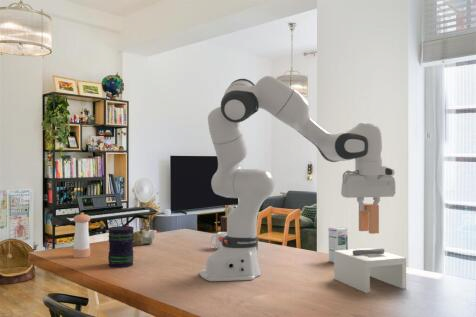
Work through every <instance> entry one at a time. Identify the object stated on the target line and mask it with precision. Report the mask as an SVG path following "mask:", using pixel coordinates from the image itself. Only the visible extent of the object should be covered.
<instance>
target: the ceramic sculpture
mask: <svg viewBox="0 0 476 317" xmlns="http://www.w3.org/2000/svg"><path fill="white" fill-rule="evenodd" d="M155 231H156V230H155V229H153V230H151V231H150V230H149V231H147V230H146V229H145V228H140V229H139V230H137V231H134V233H133V234H134V241H133V246H143V245H145V244H147V245H152V244H153V241H154V238H155Z"/></svg>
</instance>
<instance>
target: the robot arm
mask: <svg viewBox="0 0 476 317" xmlns="http://www.w3.org/2000/svg"><path fill="white" fill-rule="evenodd" d="M259 109H262V110H265V111H266V112H268V113H269V114H270V115H272V116H273V117H275V119H278V120H279V121H280V122H282V123H284V124H286V125H287V126H289V127H290V128H293V130H295V131H296V132H298V133H299V134H300V135H301V136H303V137H304V138H306V139H307V141H309V142H310V143H311V144H312V145H314V147H316V148H317V150H318V151H319V153H320V155H321V156H322V157H323V159H324V160H326V161H328V162H330V163H337V162H338V163H339V162H345V161H351V160H354V162H355V163H354V164H355V166H354V167H355V168H354V170H349V169H348V170H346V171H344V172H343V173H342V182H341V190H340V193H341V196H342V198H349V199H350V198H354V199H355V198H356V201H357V203H358V206H359V205H360V210H361V211H366V208H367V206H366V205H364V203H365V202H364V201H365V198H372V200H373V203H372V204H374V205H379V203H380V201H381V198H387V197H388V198H391V197H394V196H395V195H396V180H395V178H394V175H395V169H393V168H391V167H388V166H385V165H383V160H382V156H381V155H382V151H383V150H382V149H383V141H382V132H381V129H380V127H379V126H378V125H376V124H374V123H371V122H370V123H369V122H367V123H366V122H362V123H361V122H360V123H358V124H357V125H355V126H354V127H352V128H350V129H348V130H345V131H343V132H340V133H336V134H335V133H330V132H328V131H326V130H325V129H323V127H321V126H320V125H319V124H317V123H316V122H315V121H314V120H312V118H311V116H310V115H309V111H310V105H309V103H308V101H307V99H306V98H305V97H304V96H303V95H302V94H301V93H300V92H298V91H297V90H295V89H294V88H292V87H291V86H290V85H288V84H286V83H285V82H283V81H282V80H280V79H277V78H275V77H274V76H272V75H267V76H264V77H262V78H260V79H259V80H258V81H257V82H256V83H255V84H254V82H253V81H251V80H249V79H247V78H238V79H236V80H234V81H233V82H231V83H230V85H229V86H228V87H227V89H226V90H225V92H224V94H223V97H222V99H221V101H220V106H219V107H216V108H214V109H213V110H211V111H210V112H209V114H208V115H207V124H208V130H209V134H210V138H211V141H212V145H213V148H214V151H215V154H216V158H217V170H216V172H215V173H214V174H213V175H212V178H211V183H210V184H211V185H210V186H211V189H212V191H213V193H214V194H215V195H218V196H220V197H224V198H229V199H238V204H237V205H236V207H235V208H233V209H231V210H230V211H229V212H228V214H227V217H226V232H227V235H226V236H225V237H222V236H219V241H220V242H222V246H221V247H220V248H219V249H218V248H217V250H215V251H214V252H213V253H211V254H210V255H209V256H208V257H207V260H206V264H205V269H201V270H200V271H199V276H200V277H201V278H202V279H203V280H206V281H209V282H226V281H227V282H228V281H252V280H254V279H255V278H256V277H259V276H261V275H262V273H261V269H260V265H259V260H258V247H259V239H258V238H259V237H258V234H257V229H258V228H257V226H258V215H259V211H260V209H261V206H262V205H263V203H264V202H265V201H266V199H268V198H269V197H270V196H271V195H272V194H273V192H274V189H275V180H274V179H275V178H274V177H273V175H272V174H271V173H270V172H269V171H265V170H262V169H257V168H242V167H241V162H242V161H244V160H245V159H246V157H247V154H248V148H247V145H246V141H245V137H244V135H243V131H242V128H241V125H240V123H242V122H244V121H246V120H247V119H249V118H250V117H251V116H253V115H254V114H256V113H257V112H258V111H259Z"/></svg>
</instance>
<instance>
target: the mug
mask: <svg viewBox="0 0 476 317" xmlns="http://www.w3.org/2000/svg"><path fill="white" fill-rule="evenodd" d="M226 235H227V231H219V232H217V233H216V234H214V235H212V236H211V238H210V243H211V245H212V246H213V247H216V248H217V250H218V249H219V248H220V247H221V246H222V242H220V241H219V236H222V237H225V236H226ZM214 237H215V244H214V243H213V240H214Z"/></svg>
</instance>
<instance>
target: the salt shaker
mask: <svg viewBox="0 0 476 317" xmlns="http://www.w3.org/2000/svg"><path fill="white" fill-rule="evenodd" d="M73 221H74V223H75V228H74V230H75V231H74V235H73V236H74V237H73V248H72V258H75V259H77V258H78V259H79V258H80V259H81V258H89V257H90V256H91V247H90V242H91V240H90V239H91V238H90V232H89V222H90V221H91V216H90V215H89V214H85V212H80V213H79V214H76V215H74V217H73Z"/></svg>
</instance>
